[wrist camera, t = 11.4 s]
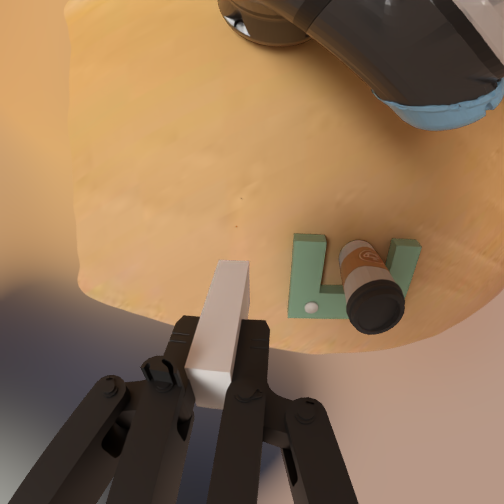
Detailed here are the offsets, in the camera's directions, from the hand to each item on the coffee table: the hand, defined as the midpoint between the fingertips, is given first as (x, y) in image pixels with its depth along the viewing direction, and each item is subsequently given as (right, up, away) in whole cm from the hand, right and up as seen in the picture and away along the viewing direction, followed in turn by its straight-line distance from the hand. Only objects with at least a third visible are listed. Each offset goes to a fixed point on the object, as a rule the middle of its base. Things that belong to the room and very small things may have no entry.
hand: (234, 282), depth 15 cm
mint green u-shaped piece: (+19, -4, +35) cm, 40 cm away
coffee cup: (+19, +1, +32) cm, 37 cm away
